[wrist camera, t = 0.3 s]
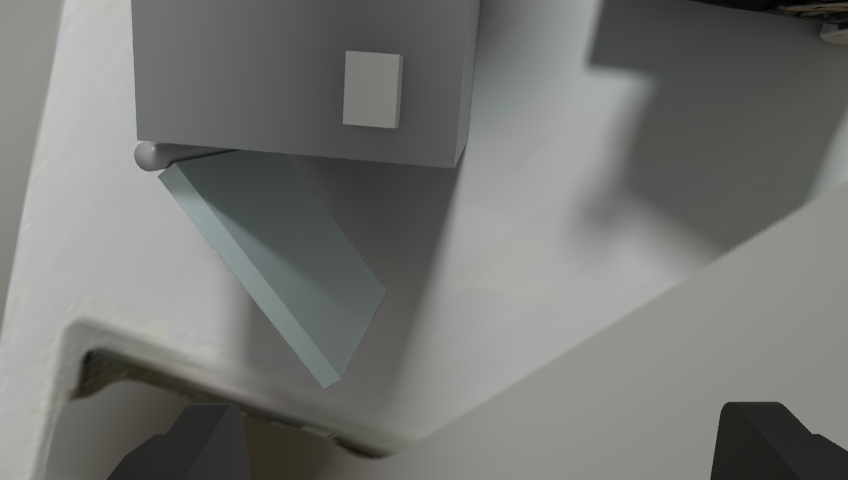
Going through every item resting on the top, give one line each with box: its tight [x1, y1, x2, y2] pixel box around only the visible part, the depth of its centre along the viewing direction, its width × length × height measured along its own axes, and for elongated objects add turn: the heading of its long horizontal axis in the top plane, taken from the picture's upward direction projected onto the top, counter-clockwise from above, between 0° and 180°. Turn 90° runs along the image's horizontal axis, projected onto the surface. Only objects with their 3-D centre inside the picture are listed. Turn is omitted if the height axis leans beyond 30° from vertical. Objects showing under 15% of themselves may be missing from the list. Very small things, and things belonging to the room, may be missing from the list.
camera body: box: [131, 0, 481, 169], centre depth 27 cm, size 10×15×17 cm
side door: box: [134, 141, 387, 389], centre depth 30 cm, size 2×13×13 cm, turn 35°
